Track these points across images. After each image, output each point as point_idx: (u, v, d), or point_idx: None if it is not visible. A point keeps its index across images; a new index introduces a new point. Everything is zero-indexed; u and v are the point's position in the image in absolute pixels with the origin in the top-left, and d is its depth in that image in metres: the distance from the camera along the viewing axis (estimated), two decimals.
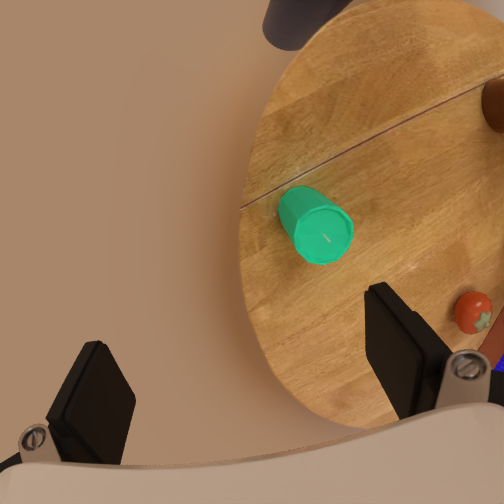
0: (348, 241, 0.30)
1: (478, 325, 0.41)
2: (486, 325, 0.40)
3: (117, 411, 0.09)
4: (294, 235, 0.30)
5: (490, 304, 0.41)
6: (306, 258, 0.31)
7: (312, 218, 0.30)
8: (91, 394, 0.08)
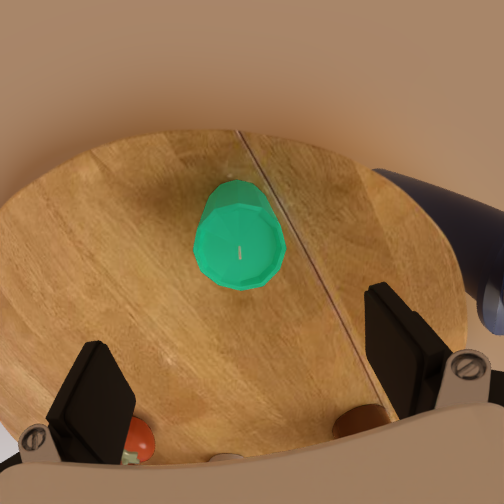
0: (230, 283, 0.22)
1: None
2: (124, 462, 0.33)
3: (117, 411, 0.09)
4: (239, 204, 0.20)
5: (147, 459, 0.36)
6: (203, 225, 0.20)
7: (263, 228, 0.21)
8: (91, 394, 0.08)
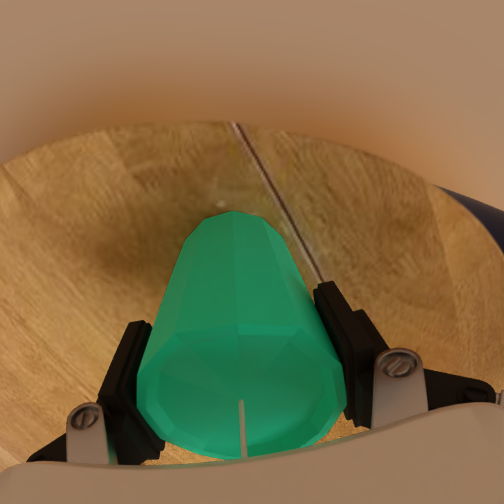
0: (222, 454, 0.09)
1: None
2: None
3: None
4: (241, 325, 0.07)
5: None
6: (150, 368, 0.07)
7: (298, 368, 0.08)
8: None
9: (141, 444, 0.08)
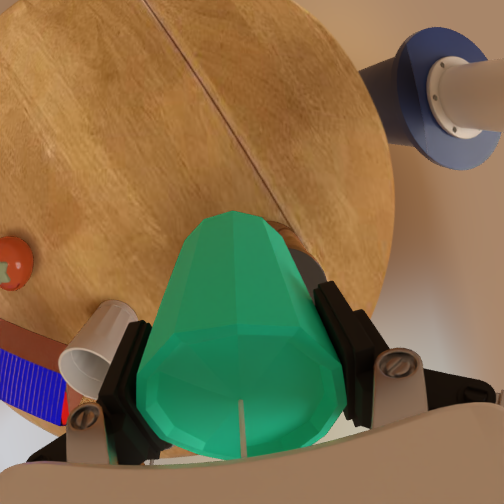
0: (222, 454, 0.09)
1: None
2: None
3: None
4: (241, 325, 0.07)
5: (18, 280, 0.33)
6: (149, 368, 0.07)
7: (298, 368, 0.08)
8: None
9: (141, 445, 0.08)
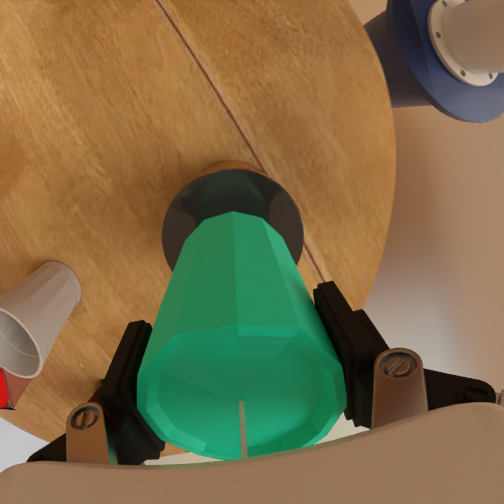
0: (223, 454, 0.09)
1: None
2: None
3: None
4: (241, 326, 0.07)
5: None
6: (150, 369, 0.07)
7: (298, 369, 0.08)
8: None
9: (141, 445, 0.08)
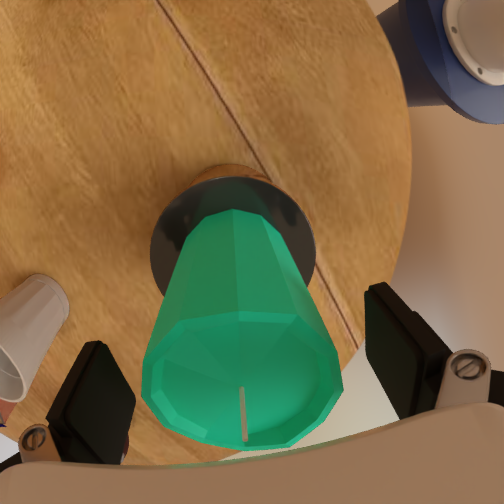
0: (224, 441, 0.10)
1: None
2: None
3: (117, 411, 0.09)
4: (242, 312, 0.08)
5: None
6: (155, 355, 0.08)
7: (296, 355, 0.09)
8: (91, 394, 0.08)
9: None
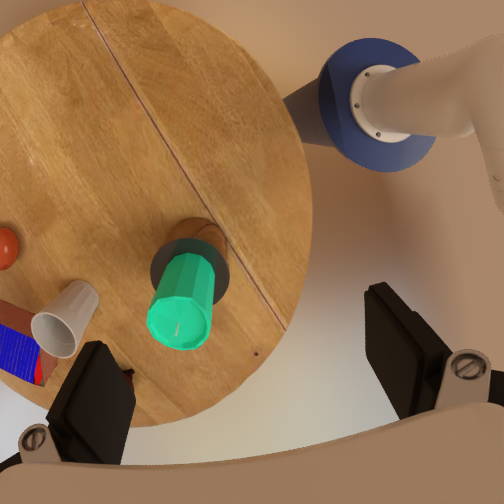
0: (174, 345, 0.29)
1: None
2: None
3: (117, 411, 0.09)
4: (175, 296, 0.27)
5: (5, 261, 0.40)
6: (151, 309, 0.28)
7: (194, 311, 0.28)
8: (91, 394, 0.08)
9: None
